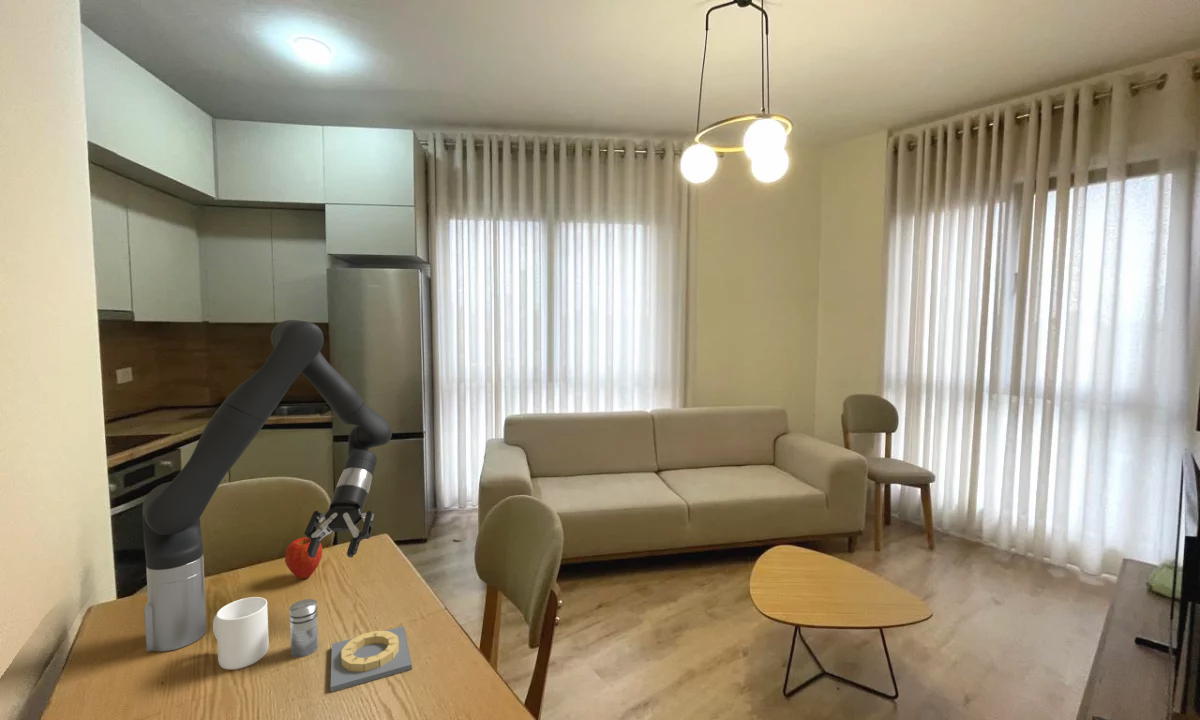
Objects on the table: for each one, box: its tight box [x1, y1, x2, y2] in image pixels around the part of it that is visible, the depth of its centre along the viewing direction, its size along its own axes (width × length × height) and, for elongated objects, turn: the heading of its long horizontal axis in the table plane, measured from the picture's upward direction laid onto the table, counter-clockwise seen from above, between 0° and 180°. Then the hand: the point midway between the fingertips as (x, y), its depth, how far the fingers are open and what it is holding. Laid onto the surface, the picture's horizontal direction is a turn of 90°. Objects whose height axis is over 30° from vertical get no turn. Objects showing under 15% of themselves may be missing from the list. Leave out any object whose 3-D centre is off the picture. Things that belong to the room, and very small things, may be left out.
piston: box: [289, 598, 319, 658], centre depth 103 cm, size 5×5×10 cm
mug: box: [212, 596, 269, 671], centre depth 101 cm, size 12×8×10 cm
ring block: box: [330, 625, 413, 693], centre depth 101 cm, size 14×14×2 cm
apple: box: [284, 536, 323, 580], centre depth 132 cm, size 9×8×11 cm
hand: (330, 556), depth 114 cm, fingers open, 8 cm apart
